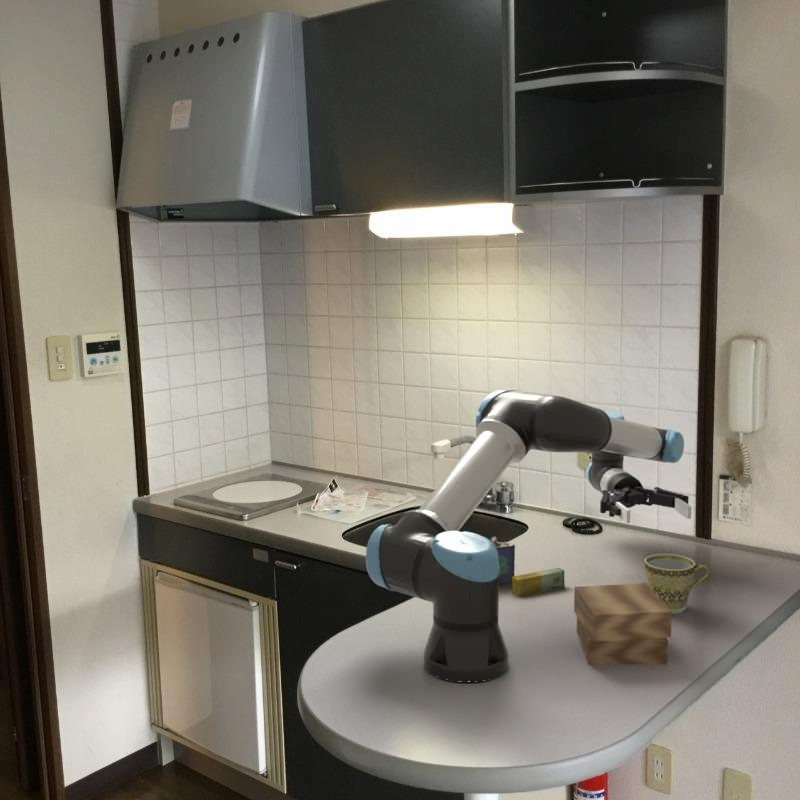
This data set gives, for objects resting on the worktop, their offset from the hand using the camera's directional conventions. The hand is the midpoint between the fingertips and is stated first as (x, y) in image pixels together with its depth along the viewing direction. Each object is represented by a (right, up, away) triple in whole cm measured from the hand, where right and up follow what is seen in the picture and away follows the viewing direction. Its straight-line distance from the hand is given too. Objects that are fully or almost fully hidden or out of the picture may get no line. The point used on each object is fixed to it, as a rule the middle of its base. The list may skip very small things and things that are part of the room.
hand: (659, 514), depth 207 cm
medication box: (-25, -17, +5) cm, 31 cm away
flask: (-34, -17, +8) cm, 39 cm away
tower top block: (-14, -17, -26) cm, 34 cm away
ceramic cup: (+2, -19, -7) cm, 20 cm away
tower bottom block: (-14, -22, -25) cm, 36 cm away
